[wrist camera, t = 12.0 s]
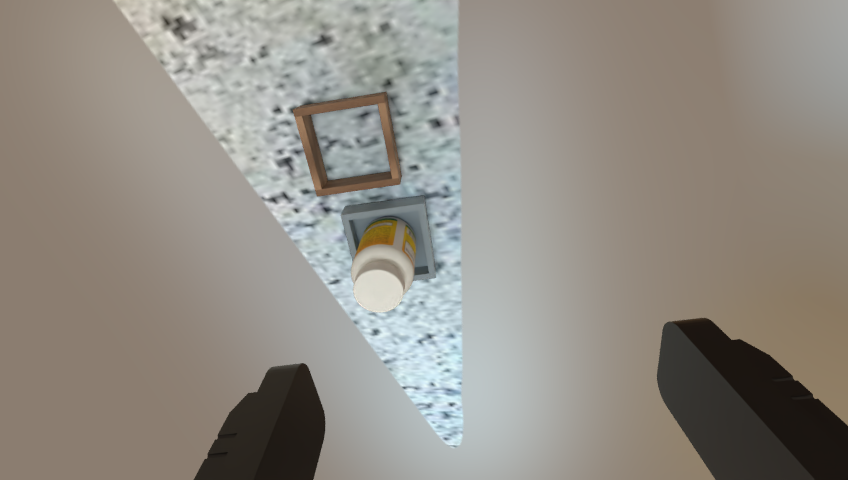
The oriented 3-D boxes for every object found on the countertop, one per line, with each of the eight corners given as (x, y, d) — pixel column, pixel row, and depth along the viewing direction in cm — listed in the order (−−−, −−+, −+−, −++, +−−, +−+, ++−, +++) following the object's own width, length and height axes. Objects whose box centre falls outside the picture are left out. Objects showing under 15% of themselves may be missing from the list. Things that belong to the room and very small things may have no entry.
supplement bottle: (426, 231, 40) (425, 282, 31) (399, 271, 42) (392, 330, 33) (377, 205, 39) (363, 250, 30) (353, 248, 41) (333, 302, 32)
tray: (345, 206, 40) (340, 215, 38) (424, 195, 39) (423, 203, 37) (362, 276, 43) (359, 287, 41) (435, 267, 43) (436, 277, 41)
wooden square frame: (301, 105, 36) (292, 109, 33) (386, 91, 35) (383, 94, 33) (323, 187, 39) (317, 196, 37) (401, 176, 38) (400, 184, 36)
